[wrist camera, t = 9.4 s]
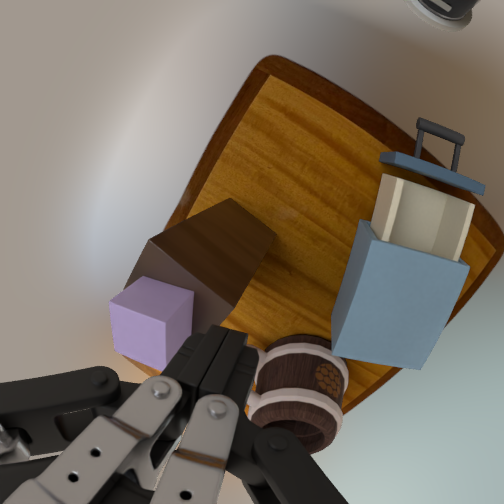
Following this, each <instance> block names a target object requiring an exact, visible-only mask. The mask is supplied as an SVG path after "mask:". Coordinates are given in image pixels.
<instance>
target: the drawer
mask: <svg viewBox="0 0 504 504" xmlns="http://www.w3.org/2000/svg"><path fill="white" fill-rule="evenodd" d="M416 128H417V129H419V130H418V134H417V140H416V146H415V151H414V157H412V156H409V155H406V154H403V153H400V152H381V154H380V159H379V162H383V163H386V164H389V165H393V166H396V167H399V168H402V169H406V170H409V171H412V172H415V173H418V174H421V175H424V176H427V177H429V178H432V179H435V180H438V181H441V182H443V183H446V184H449V185H451V186H454V187H457V188H460V189H464V190H467V191H470V192H473V193H476V194H479V195H482V196H483V195H484V190H485V185H483V184H481V183H479V182H477V181H475V180H472V179H470V178H468V177H465V176H463V175H460V174H458V173H456V171H457V166H458V161H459V155H460V149H461V146H462V145H463V144H464V141H465V137H464V135H462V134H460V133H458V132H455V131H453V130H451V129H448V128H446V127H443V126H441V125H439V124H436V123H433V122H431V121H428V120H426V119H423V118H418V120H417V123H416ZM424 132H427V133H430V134H432V135H435V136H438V137H440V138H443V139H445V140H448V141H450V142H452V143H455V149H454V155H453V160H452V166H451V170H448V169H445V168H443V167H440V166H437V165H435V164H432V163H429V162H426V161H424V160H421V159H420V153H421V148H422V142H423V136H424ZM474 207H475V205H474V204H471V203H469V202H466V201H464V200H461V199H459V198H456V197H453V196H451V195H448V194H445V193H443V192H440V191H437V190H434V189H431V188H428V187H425V186H422V185H419V184H416V183H413V182H410V181H407V180H404V179H401V178H397V177H394V176H391V175H387V174H384V173H383V174H382V179H381V183H380V188H379V192H378V196H377V200H376V205H375V209H374V213H373V216H372V220H371V224H370V228H371V230H372V231H373V233H374V234H375V236H376V237H377V239H379V240H382V241H386V242H390V243H394V244H397V245H401V246H405V247H408V248H412V249H416V250H419V251H423V252H426V253H430V254H433V255H437V256H440V257H444V258H447V259H450V260H454V261H457V262H458V260H459V257H460V254H461V251H462V248H463V245H464V242H465V239H466V236H467V232H468V229H469V226H470V222H471V218H472V215H473V211H474Z"/></svg>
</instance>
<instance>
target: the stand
mask: <svg viewBox="0 0 504 504" xmlns="http://www.w3.org/2000/svg"><path fill="white" fill-rule="evenodd" d="M275 236H276V233H274V232H273V231H272V230H271V229H269V228H268V227H267V226H266V225H264V224H263V223H262V222H260V221H259V220H258V219H257V218H255V217H254V216H253V215H251V214H250V213H249V212H248V211H246V210H245V209H244V208H242V207H241V206H240V205H238V204H237V203H236V202H235V201H233V200H232V199H231V198H228V199H226V200H224V201H222V202H220V203H218V204H216V205H214V206H212V207H210V208H208V209H206V210H204V211H202V212H200V213H198V214H196V215H194V216H192V217H190V218H188V219H186V220H184V221H182V222H180V223H178V224H177V225H175V226H173V227H171V228H169V229H167V230H165V231H163V232H161V233H160V234H158V235H156V236H154V237H152V238H150V239H149V240H148V242H147V243H146V245H145V247H144V249H143V251H142V253H141V255H140V257H139V259H138V261H137V263H136V265H135V267H134V269H133V271H132V273H131V275H130V277H129V279H128V281H127V283H126V285H125V287H124V289H126V288H127V287H128V286H130V285H131V284H133V283H134V282H135V281H137V280H138V279H139V278H141V277H142V276H145V277H148V278H151V279H154V280H158V281H161V282H164V283H167V284H171V285H174V286H177V287H181V288H184V289H187V290H191V291H194V302H193V316H192V331H191V335H193V334H194V333H196V332H199V333H202V334H206V333H207V331H208V330H209V328H210V326H211V325H212V324H214V325H218V326H219V325H220V324H221V323H222V322H223V321H224V320H225V318H226V317H227V316H228V315H229V314H230V313H231V312H232V310H233V309H234V308H235V306H236V305H237V303H238V301H239V299H240V298H241V296H242V294H243V293H244V291H245V289H246V287H247V286H248V284H249V282H250V280H251V279H252V277H253V275H254V273H255V272H256V270H257V268H258V266H259V265H260V263H261V261H262V259H263V258H264V256H265V254H266V252H267V251H268V249H269V247H270V245H271V243H272V242H273V240H274V238H275Z"/></svg>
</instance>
